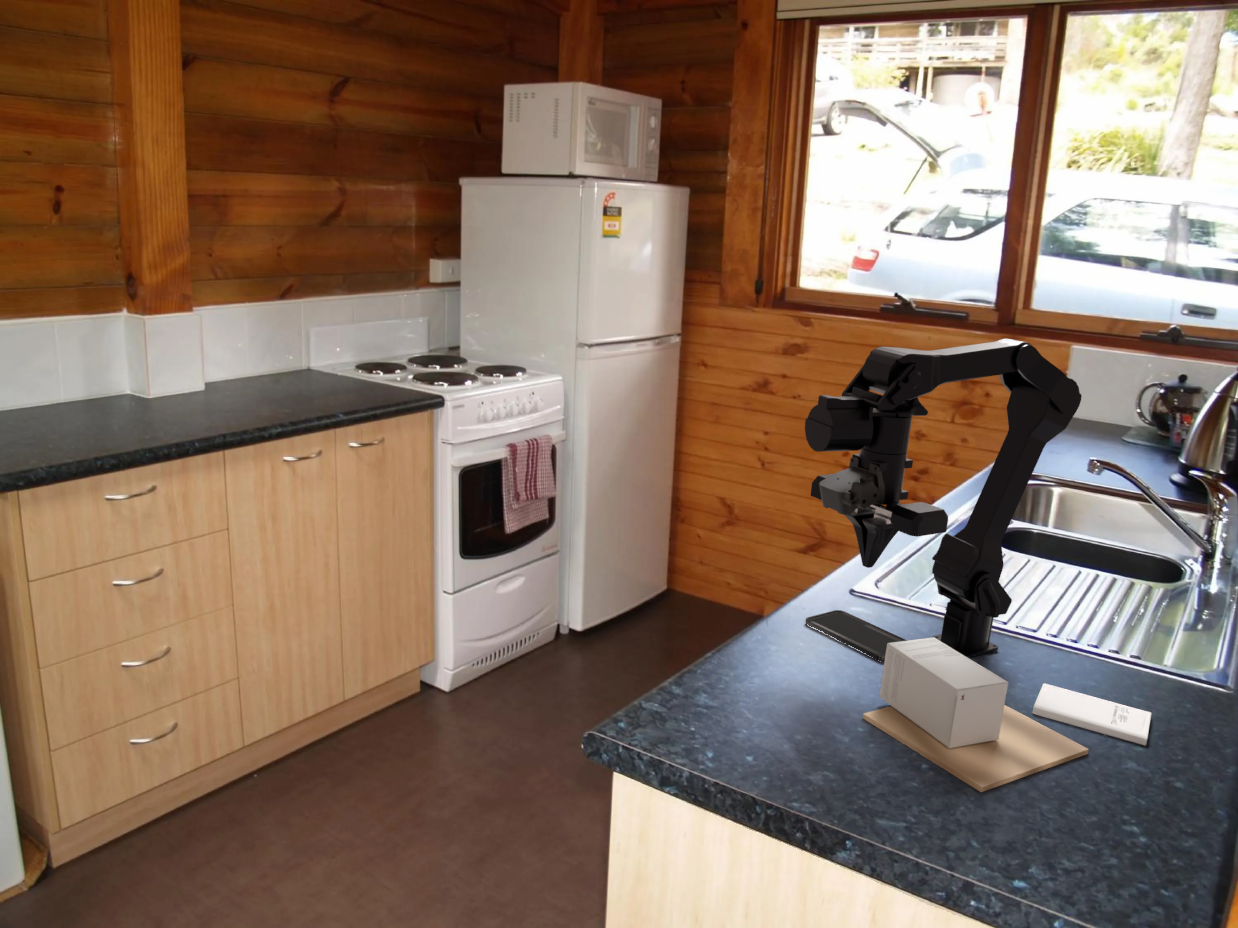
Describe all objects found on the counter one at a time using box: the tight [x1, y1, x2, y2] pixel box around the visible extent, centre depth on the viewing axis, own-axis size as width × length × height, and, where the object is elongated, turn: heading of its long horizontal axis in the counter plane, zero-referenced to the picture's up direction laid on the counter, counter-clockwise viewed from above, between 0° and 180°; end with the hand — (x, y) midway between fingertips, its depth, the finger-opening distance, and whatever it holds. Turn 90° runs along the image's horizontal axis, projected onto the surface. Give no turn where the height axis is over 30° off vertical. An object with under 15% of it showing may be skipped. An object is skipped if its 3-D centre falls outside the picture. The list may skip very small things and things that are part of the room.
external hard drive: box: [1032, 682, 1152, 746], centre depth 123 cm, size 2×8×12 cm
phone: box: [805, 609, 909, 663], centre depth 142 cm, size 8×1×15 cm
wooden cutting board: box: [862, 704, 1089, 793], centre depth 116 cm, size 18×17×1 cm
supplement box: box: [879, 636, 1009, 748], centre depth 118 cm, size 7×7×13 cm
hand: (867, 566), depth 131 cm, fingers closed
